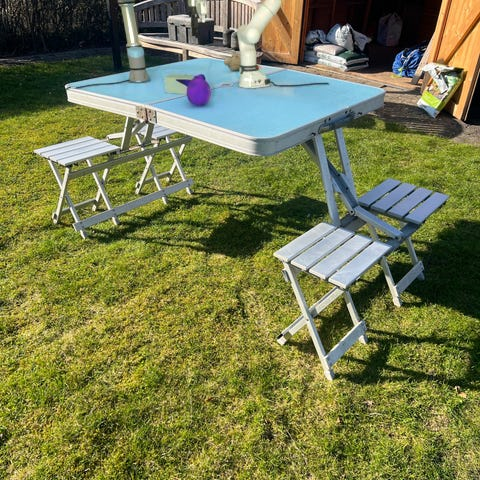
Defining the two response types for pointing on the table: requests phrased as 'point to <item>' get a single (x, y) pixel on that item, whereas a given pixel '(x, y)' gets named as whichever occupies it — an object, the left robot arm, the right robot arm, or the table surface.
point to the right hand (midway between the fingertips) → (202, 21)
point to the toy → (197, 90)
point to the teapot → (233, 62)
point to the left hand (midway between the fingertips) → (195, 37)
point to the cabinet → (176, 83)
